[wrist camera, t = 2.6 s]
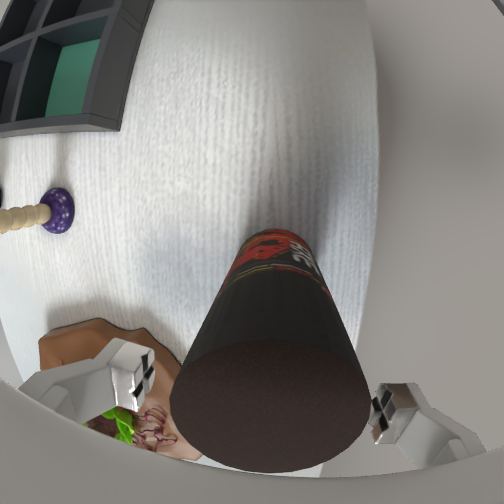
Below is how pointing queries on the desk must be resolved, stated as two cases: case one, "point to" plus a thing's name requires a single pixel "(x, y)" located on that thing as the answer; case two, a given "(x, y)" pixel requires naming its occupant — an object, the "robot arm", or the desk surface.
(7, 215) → the toy lamp
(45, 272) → the desk surface
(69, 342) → the plant
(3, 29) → the compartment tray
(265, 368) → the deodorant
